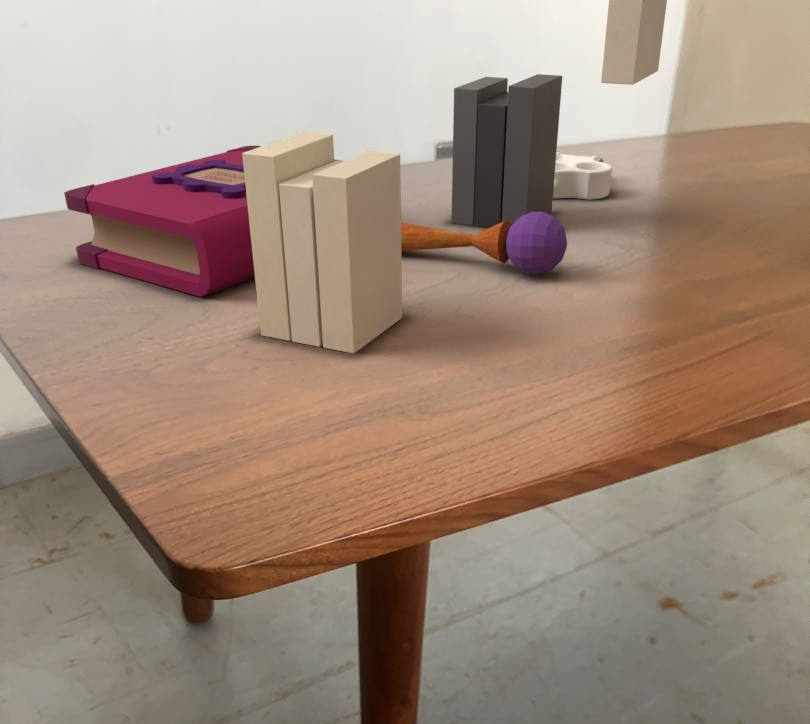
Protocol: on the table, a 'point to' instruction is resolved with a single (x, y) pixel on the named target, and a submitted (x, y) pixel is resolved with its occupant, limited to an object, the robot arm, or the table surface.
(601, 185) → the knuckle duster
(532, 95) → the grey books
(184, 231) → the book
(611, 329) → the table surface
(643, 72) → the cream book
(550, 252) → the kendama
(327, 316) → the cream books
